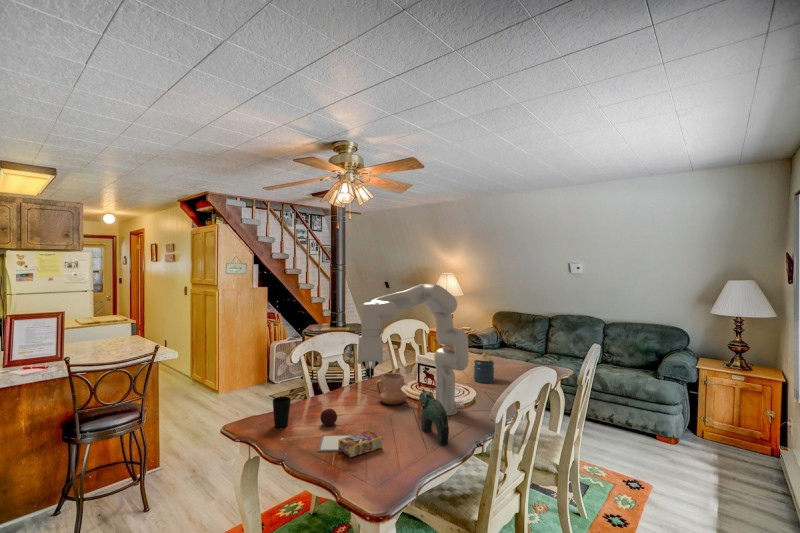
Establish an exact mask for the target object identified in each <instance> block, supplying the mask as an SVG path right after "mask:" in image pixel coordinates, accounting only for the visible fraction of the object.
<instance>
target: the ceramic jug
mask: <svg viewBox="0 0 800 533" xmlns="http://www.w3.org/2000/svg"><path fill="white" fill-rule="evenodd" d="M404 381H405V374H402V373H398V372H396V373H395V372H387V373H382V374H381V379H378V380H377V381H376V382H375V386H376V390H377V392H378V398H379V400H380V401H381V402H382V403H383V404H386V405H390V406H393V405H394V406H395V405H401V404H402V403H404V402H405V401H407V398H408V396H407V394H406V392H405V391H403V390H402V387H404V386H406V387H407V386H408V385H409V383H408V382H404ZM379 384H381V385H383V387H384V389H383V390H382V391H381V389H380V386H379Z"/></svg>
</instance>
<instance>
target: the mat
mask: <svg viewBox="0 0 800 533" xmlns="http://www.w3.org/2000/svg"><path fill="white" fill-rule="evenodd" d="M352 435H353V434H322V435H321V439H320V443H319V446H318V449H317V452H318V453H324V452H326V453H327V452H328V453H331V452H332V453H333V452H335V453H336V452H341V451H340V450H339V447H338V441H339V439H342V438H345V437H349V436H352ZM374 451H376V449H375V450H372V451H371V452H374Z"/></svg>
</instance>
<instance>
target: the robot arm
mask: <svg viewBox="0 0 800 533" xmlns="http://www.w3.org/2000/svg"><path fill="white" fill-rule="evenodd" d="M422 304H424V305H425V307H426V309H427V310H428V311H430V312H431V313H432V315H433V316H434V321H435V334H436V341H437V343H438V345H441V346H443V347H439V348H438V349H436V351H435V352H434V356H433V358H434V364H435V400H438V401H440V402H441V403H442V404H443V406H444V408H445V410H446V413H447V417H448V416H454V415H457V413H458V411H459V410H458V409H465V404H462V403H461V402H456V374H455V372H454V371H459V372H460V371H461V372H462V371H465V370H466V369H467V368H468V366H469V361H470V360H469V359H470V358H469V338H468V335H467V333H466V331H464V329H463V328H462V329H461V328H456V327H455V326H454V323H453V315H452V314H453V313H454V312H456V310H457V308H458V301H457V298H456V297H455V296H454V295H453V294H452V293H450V292H449V291H448V290H447V289H445V288H444V287H443V286H441V285H439V284H435V283H433V284H432V283H420V284H417V285H415V286H412V287H410V288H408V289H406V290H402V291H397V292H395V293H394V292H393V293H391V294H390V293H389V294H385V295H382V296H379V297H376V298H373V299H372V300H370V301H369V302H364V303H362V305H361V333H360V334H361V335H359V337H358V345H357V361H356V363H357V364H359V365H362V366H364V368H365V370H366V377H367V379H371V380H372V379H373V377H374V375H375V368H376V367H377V366H378V365H382V364H384V358H383V357H384V354H383V353H384V350H383V348H384V346H383V345H384V344H383V338H382V335H381V334H384V330H383V329H381V320H388V321H389V320H393V319H394V318H396V317H397V315H398V314H399V311H405V310H406V311H407V310H411V309H413V308H415V307H417V306H419V305H422ZM369 362H371V366H370V364H369Z"/></svg>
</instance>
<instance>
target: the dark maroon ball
mask: <svg viewBox="0 0 800 533" xmlns="http://www.w3.org/2000/svg"><path fill="white" fill-rule="evenodd" d="M337 420H338V414H337V412H336V411H335V409H333V408H327V409H324V410H323V411H321V413H320V423H321V424H322V425H324V426H327V427H330V426H332V425H334V424H335V423H336V422H337Z"/></svg>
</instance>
